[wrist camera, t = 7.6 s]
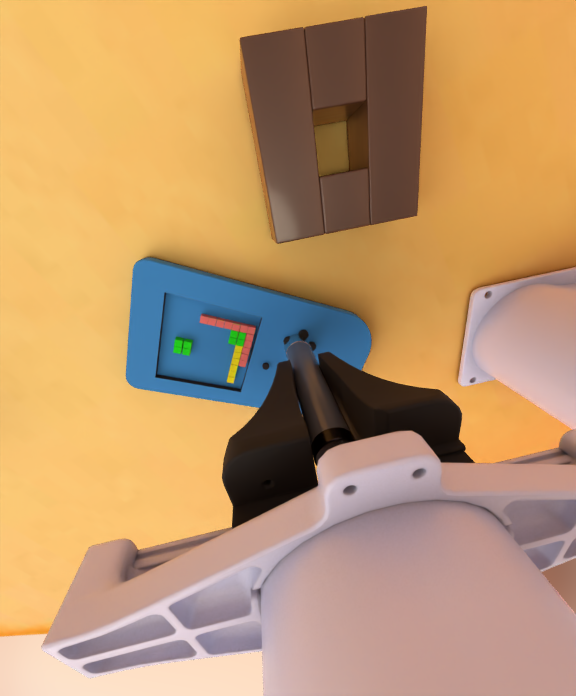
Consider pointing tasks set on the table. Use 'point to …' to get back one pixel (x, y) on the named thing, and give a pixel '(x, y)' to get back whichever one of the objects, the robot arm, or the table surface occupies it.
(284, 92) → the brown block with hole
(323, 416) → the dark grey cylinder rod
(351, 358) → the handheld gaming device
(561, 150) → the table surface
